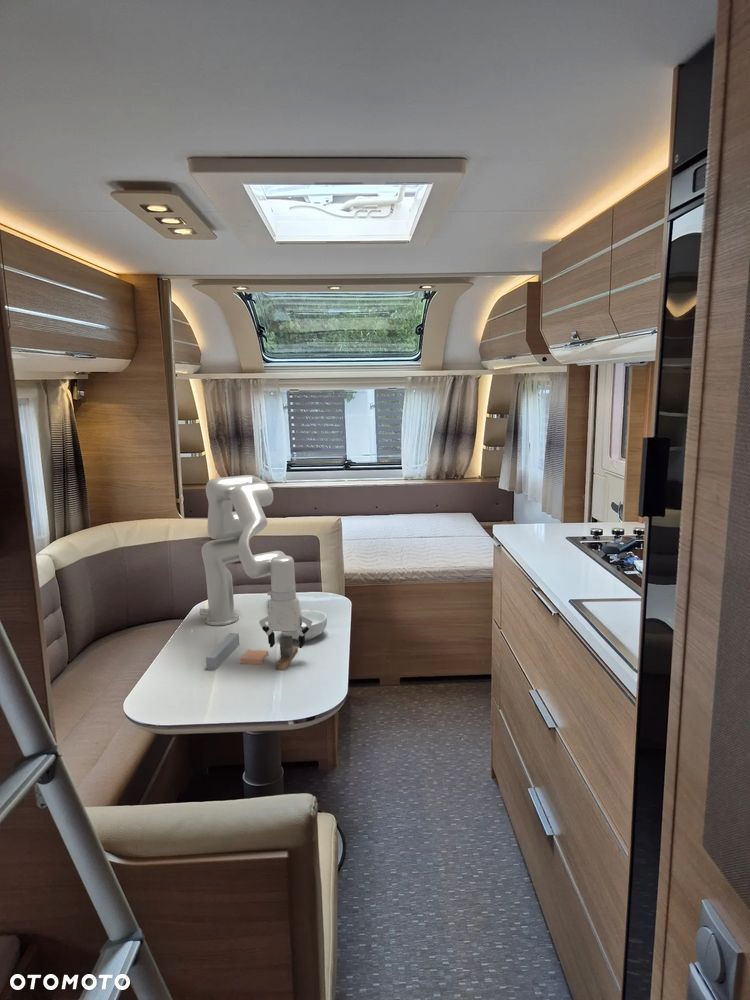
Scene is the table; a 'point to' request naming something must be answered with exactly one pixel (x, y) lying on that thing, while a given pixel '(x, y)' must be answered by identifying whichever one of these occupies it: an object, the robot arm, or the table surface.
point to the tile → (254, 656)
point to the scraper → (286, 652)
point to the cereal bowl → (316, 627)
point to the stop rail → (222, 651)
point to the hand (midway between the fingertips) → (286, 646)
